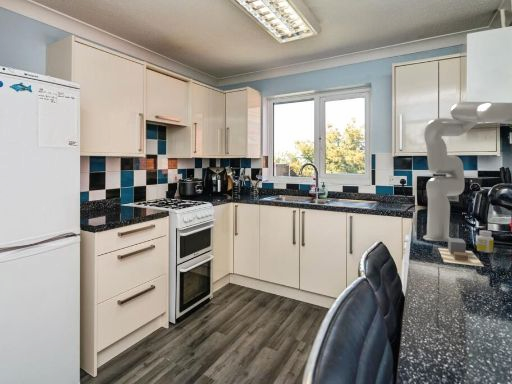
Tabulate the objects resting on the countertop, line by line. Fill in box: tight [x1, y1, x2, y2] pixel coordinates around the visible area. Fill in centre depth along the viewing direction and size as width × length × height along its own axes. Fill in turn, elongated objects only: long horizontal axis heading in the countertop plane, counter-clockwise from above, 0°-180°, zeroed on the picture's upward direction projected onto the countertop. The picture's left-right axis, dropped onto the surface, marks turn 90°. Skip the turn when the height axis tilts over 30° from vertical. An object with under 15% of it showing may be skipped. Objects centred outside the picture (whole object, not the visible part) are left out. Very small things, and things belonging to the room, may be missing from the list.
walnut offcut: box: [453, 252, 468, 261], centre depth 114 cm, size 4×4×2 cm
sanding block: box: [447, 237, 467, 254], centre depth 123 cm, size 8×5×5 cm, turn 154°
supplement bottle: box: [476, 229, 494, 254], centre depth 126 cm, size 5×5×10 cm
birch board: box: [437, 247, 485, 267], centre depth 118 cm, size 22×12×2 cm, turn 154°
